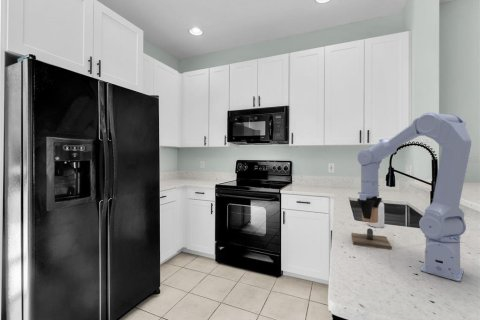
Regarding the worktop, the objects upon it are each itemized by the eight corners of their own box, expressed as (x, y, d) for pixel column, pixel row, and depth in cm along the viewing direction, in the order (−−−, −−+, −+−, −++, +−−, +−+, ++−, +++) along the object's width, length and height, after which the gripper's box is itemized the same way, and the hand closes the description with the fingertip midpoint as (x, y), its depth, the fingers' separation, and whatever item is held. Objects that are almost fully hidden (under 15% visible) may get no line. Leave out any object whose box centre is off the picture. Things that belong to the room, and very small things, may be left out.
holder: (391, 249, 79) (391, 235, 79) (353, 244, 84) (353, 230, 84) (385, 239, 90) (385, 226, 90) (351, 235, 95) (351, 223, 95)
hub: (375, 223, 83) (375, 209, 83) (360, 220, 87) (360, 207, 87) (379, 221, 87) (379, 207, 87) (364, 218, 91) (364, 206, 91)
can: (376, 228, 105) (376, 202, 105) (365, 224, 111) (365, 200, 111) (387, 227, 106) (387, 201, 107) (376, 223, 113) (375, 199, 113)
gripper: (365, 179, 95) (365, 212, 95) (350, 181, 85) (351, 218, 85) (384, 181, 90) (385, 215, 90) (371, 183, 80) (371, 221, 80)
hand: (369, 217), depth 87 cm, fingers closed on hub, 5 cm apart
